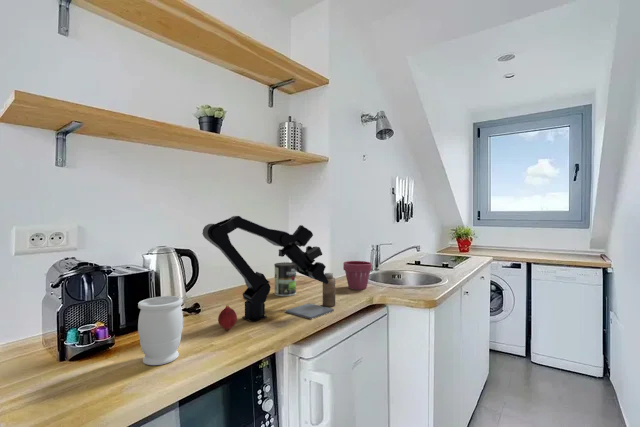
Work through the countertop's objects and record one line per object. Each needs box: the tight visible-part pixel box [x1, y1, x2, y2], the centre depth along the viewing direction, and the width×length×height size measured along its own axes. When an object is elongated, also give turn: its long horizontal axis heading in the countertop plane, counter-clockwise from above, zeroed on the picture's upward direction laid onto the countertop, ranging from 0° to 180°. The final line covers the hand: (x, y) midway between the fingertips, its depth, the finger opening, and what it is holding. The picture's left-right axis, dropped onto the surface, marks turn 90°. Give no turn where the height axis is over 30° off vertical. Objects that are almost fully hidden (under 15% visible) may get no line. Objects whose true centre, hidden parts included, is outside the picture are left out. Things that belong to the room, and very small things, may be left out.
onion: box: [217, 304, 238, 331], centre depth 104 cm, size 6×6×8 cm
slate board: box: [285, 302, 335, 320], centre depth 123 cm, size 13×13×1 cm
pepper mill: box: [322, 272, 336, 308], centre depth 132 cm, size 5×5×13 cm
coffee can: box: [273, 261, 297, 297], centre depth 152 cm, size 10×10×14 cm
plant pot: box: [342, 260, 373, 291], centre depth 164 cm, size 14×14×13 cm
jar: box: [137, 295, 184, 366], centre depth 83 cm, size 11×10×15 cm
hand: (322, 280), depth 131 cm, fingers open, 9 cm apart
